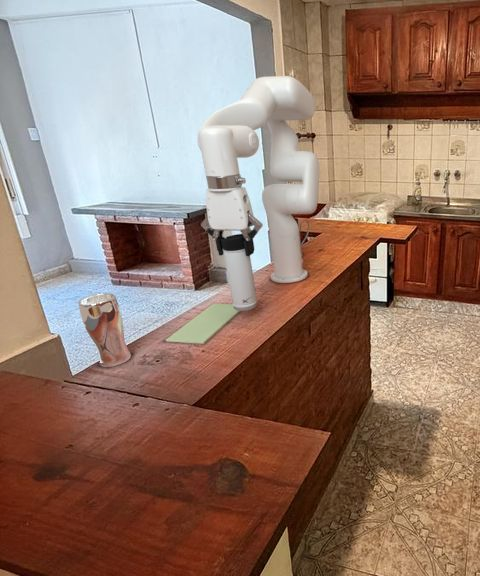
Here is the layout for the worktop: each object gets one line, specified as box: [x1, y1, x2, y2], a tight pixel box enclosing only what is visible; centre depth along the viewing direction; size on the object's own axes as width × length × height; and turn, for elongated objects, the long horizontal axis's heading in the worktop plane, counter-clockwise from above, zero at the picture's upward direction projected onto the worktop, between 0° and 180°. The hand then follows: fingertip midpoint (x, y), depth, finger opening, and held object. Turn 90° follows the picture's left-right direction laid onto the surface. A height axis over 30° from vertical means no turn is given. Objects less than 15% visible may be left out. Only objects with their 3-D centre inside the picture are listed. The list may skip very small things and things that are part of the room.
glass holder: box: [293, 217, 310, 258], centre depth 160 cm, size 9×14×15 cm, turn 139°
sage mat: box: [165, 302, 241, 345], centre depth 106 cm, size 22×10×1 cm, turn 172°
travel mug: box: [221, 233, 258, 312], centre depth 104 cm, size 6×7×20 cm
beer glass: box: [77, 292, 132, 368], centre depth 87 cm, size 7×7×15 cm
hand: (236, 253), depth 101 cm, fingers closed on travel mug, 6 cm apart
